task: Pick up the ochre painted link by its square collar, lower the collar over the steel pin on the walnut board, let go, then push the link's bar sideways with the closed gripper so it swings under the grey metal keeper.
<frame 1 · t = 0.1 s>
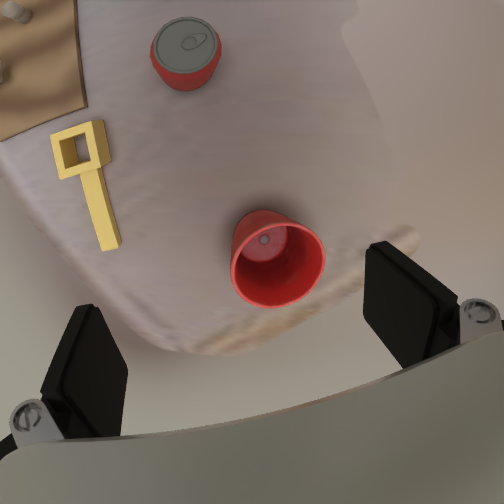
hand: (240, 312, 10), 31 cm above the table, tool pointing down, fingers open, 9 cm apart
flower pot: (261, 236, 44), on the table
bracket base: (32, 49, 27), on the table
link: (87, 146, 34), on the table
beer can: (186, 66, 33), on the table
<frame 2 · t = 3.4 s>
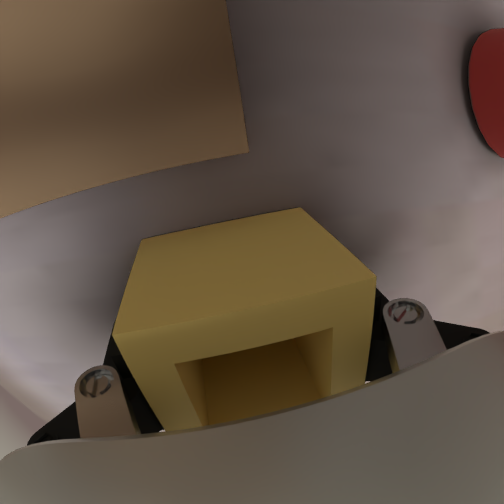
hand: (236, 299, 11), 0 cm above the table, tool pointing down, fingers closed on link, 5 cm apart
link: (234, 291, 11), on the table, touching gripper
beer can: (497, 93, 10), on the table
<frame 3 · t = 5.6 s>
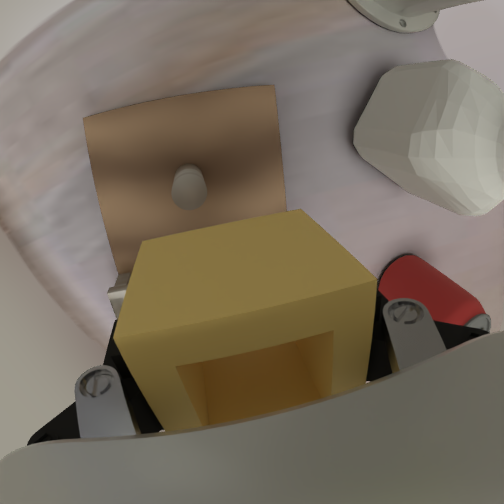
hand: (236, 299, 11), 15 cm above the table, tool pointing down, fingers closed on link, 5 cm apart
bracket base: (198, 234, 25), on the table
link: (235, 293, 11), point 14 cm above the table, touching gripper
soap bottle: (397, 129, 25), on the table
beer can: (399, 279, 32), on the table
when the fingers open (3 cm above the table, at t = 8.2 s): link drops 1 cm, resting on bracket base.
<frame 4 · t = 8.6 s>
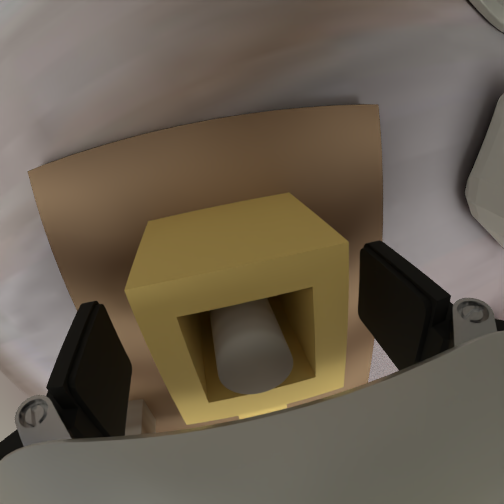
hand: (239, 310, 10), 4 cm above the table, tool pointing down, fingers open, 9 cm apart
bracket base: (242, 341, 16), on the table
link: (231, 269, 13), point 1 cm above the table, touching bracket base
soap bottle: (503, 170, 16), on the table
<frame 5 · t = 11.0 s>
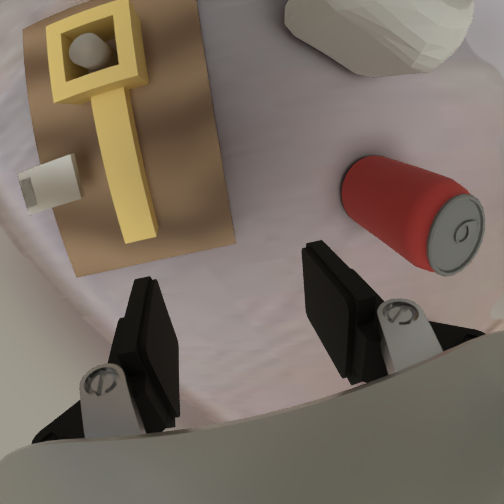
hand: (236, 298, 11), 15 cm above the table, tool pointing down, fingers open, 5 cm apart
bracket base: (122, 125, 21), on the table
link: (108, 60, 18), point 1 cm above the table, touching bracket base
soap bottle: (340, 18, 21), on the table
beer can: (368, 188, 28), on the table
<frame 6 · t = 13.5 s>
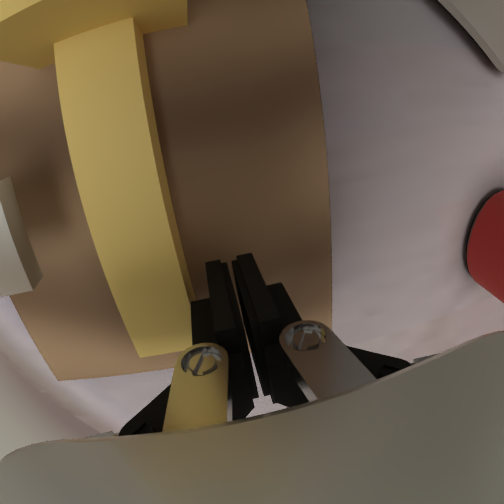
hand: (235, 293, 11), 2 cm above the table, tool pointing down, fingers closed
bracket base: (123, 110, 10), on the table
beer can: (490, 233, 17), on the table
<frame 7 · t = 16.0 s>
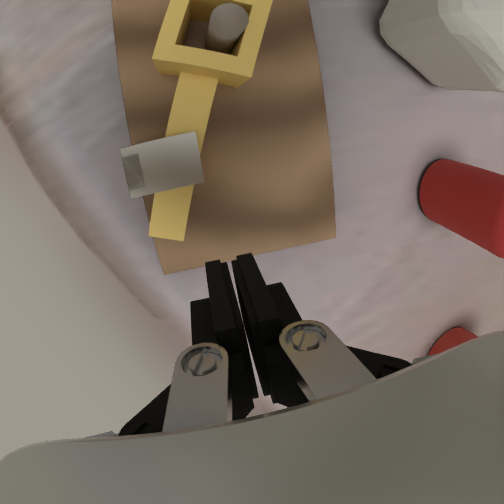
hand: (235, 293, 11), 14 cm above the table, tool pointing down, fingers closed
flower pot: (444, 347, 38), on the table
bracket base: (227, 110, 21), on the table
link: (208, 44, 18), point 1 cm above the table, touching bracket base
soap bottle: (417, 32, 21), on the table
beer can: (437, 189, 28), on the table
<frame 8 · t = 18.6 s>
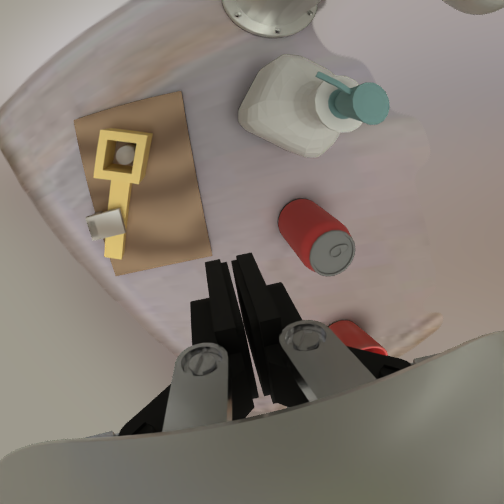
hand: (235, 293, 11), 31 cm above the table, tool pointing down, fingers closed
flower pot: (337, 335, 56), on the table
bracket base: (143, 186, 39), on the table
link: (127, 151, 35), point 1 cm above the table, touching bracket base
soap bottle: (278, 107, 38), on the table
beer can: (298, 219, 45), on the table
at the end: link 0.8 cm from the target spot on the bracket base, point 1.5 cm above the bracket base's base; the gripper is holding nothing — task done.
